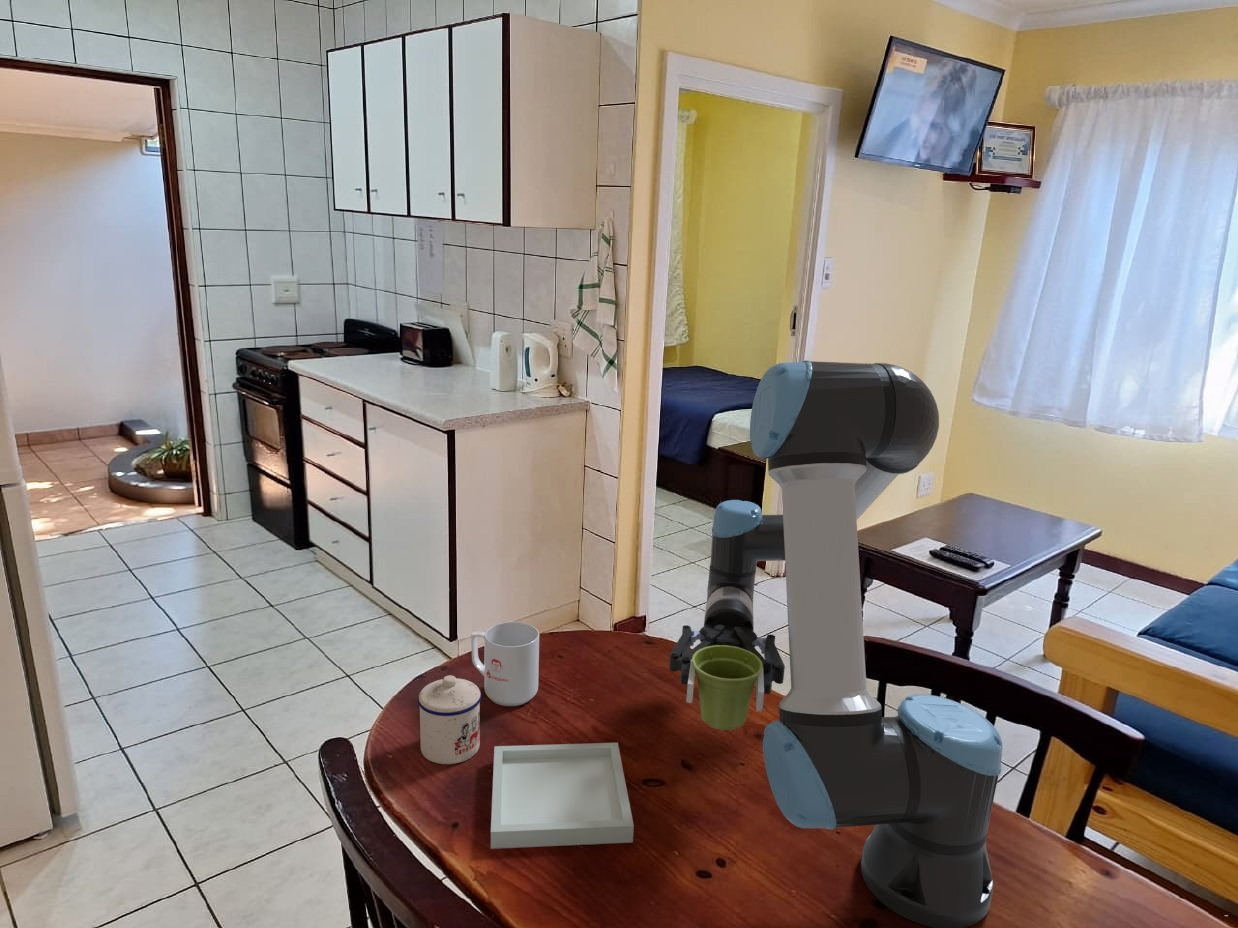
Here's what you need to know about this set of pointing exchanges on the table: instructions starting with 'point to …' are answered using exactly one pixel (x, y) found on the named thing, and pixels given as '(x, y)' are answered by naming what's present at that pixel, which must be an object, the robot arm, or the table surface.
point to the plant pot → (725, 684)
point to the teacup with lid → (449, 720)
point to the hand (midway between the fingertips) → (724, 697)
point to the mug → (509, 662)
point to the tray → (559, 796)
